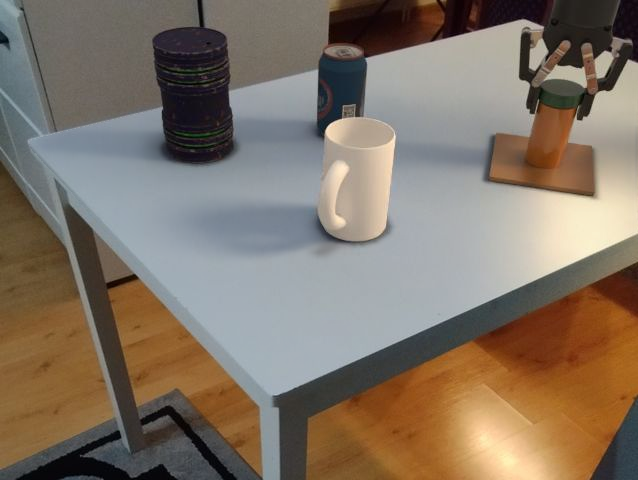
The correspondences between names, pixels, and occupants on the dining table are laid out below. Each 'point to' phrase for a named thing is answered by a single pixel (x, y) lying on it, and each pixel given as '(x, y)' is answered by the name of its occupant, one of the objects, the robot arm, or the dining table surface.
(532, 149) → the jar
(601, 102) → the dining table surface
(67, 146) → the dining table surface
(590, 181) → the mat
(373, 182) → the mug
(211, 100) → the dark ridged cylinder
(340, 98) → the soda can
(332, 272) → the dining table surface
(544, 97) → the jar lid
